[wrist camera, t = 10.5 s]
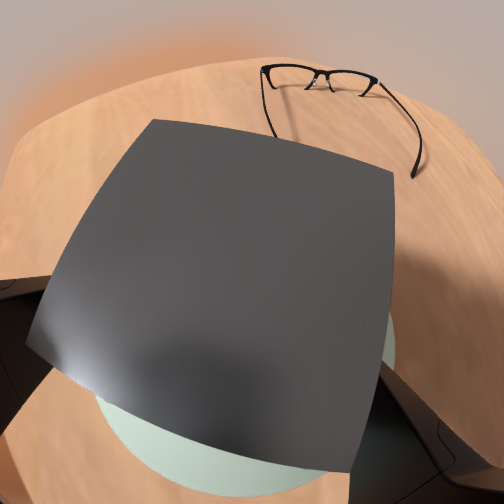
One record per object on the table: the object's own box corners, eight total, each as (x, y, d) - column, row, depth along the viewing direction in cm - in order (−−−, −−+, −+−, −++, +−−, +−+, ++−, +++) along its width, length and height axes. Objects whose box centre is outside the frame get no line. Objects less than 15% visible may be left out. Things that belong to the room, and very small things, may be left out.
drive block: (274, 405, 14) (349, 472, 3) (174, 373, 14) (25, 344, 4) (301, 307, 16) (393, 168, 5) (208, 280, 17) (156, 115, 6)
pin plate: (340, 508, 11) (363, 534, 7) (65, 416, 13) (27, 417, 9) (399, 250, 20) (427, 221, 16) (162, 186, 22) (149, 148, 18)
